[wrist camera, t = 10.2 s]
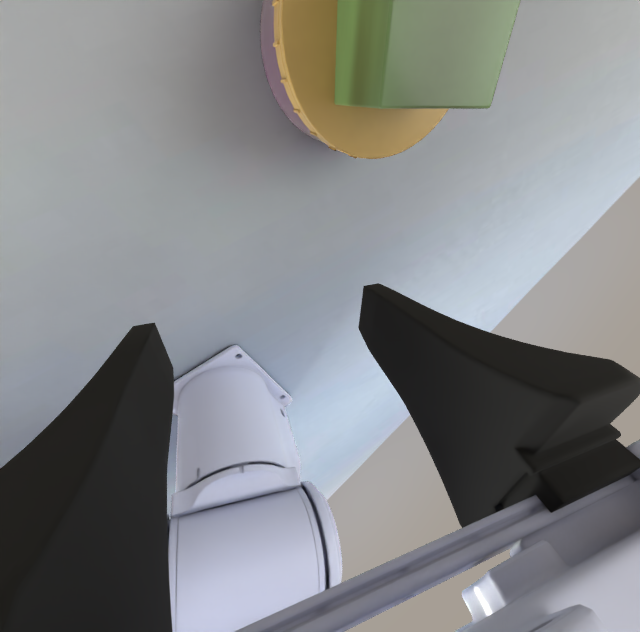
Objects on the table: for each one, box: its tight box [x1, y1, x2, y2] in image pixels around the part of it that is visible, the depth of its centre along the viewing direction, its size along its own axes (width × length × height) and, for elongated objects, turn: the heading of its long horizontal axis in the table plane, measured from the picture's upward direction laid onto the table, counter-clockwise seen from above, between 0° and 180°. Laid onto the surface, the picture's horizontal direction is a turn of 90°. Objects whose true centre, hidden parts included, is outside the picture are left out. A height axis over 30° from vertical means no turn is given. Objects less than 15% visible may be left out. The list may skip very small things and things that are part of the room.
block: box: [334, 0, 521, 109], centre depth 10 cm, size 4×4×4 cm
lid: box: [272, 0, 448, 159], centre depth 12 cm, size 9×9×1 cm
